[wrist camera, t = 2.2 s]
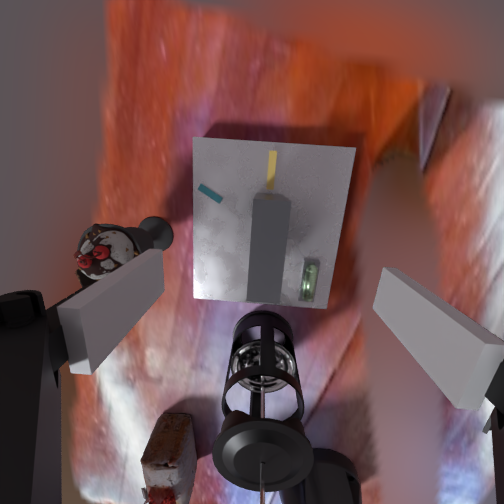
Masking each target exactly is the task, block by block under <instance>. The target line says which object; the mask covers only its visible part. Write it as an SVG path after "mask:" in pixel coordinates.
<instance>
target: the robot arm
mask: <svg viewBox="0 0 504 504" xmlns="http://www.w3.org/2000/svg"><path fill="white" fill-rule="evenodd" d="M163 292H164V273H163V254H162V250H161V249H148V250H147V251H145V252H143V253H142V254H140V255H139V256H137V257H135V258H134V259H132V260H131V261H129V262H128V263H126V264H124V265H123V266H121V267H120V268H118V269H116V270H115V271H113V272H112V273H110V274H108V275H107V276H105V277H104V278H102V279H100V280H99V281H97V282H95V283H93V284H90V285H87V286H84V287H83V288H81V289H79V290H78V291H76V292H75V294H71V295H70V296H68V297H67V298H65V299H63V300H61V301H60V302H58V303H57V304H55V305H53V306H52V307H50V308H48V309H47V310H45V306H44V301H43V297H42V294H41V292H39V291H36V290H24V291H16V292H12V293H7V294H4V295H1V296H0V504H61V503H62V502H61V501H62V498H61V495H62V494H61V374H60V370H59V368H60V367H61V366H62V365H63V364H64V363H65V362H66V361H67V360H68V361H69V366H70V371H71V373H77V374H88V375H92V374H93V372H94V371H95V370H96V369H97V368H98V367H99V366H100V364H101V363H102V362H103V361H104V360H105V359H106V358H107V356H108V355H109V354H110V353H111V352H112V351H113V349H114V348H115V347H116V346H117V345H118V344H119V343H120V341H121V340H122V339H123V338H124V337H125V336H126V335H127V333H128V332H129V331H130V330H131V329H132V328H133V326H134V325H135V324H136V323H137V322H138V321H139V320H140V318H141V317H142V316H143V315H144V314H145V313H146V312H147V310H148V309H149V308H150V307H151V306H152V305H153V303H154V302H155V301H156V300H157V299H158V298H159V297H160V295H161V294H162V293H163ZM373 309H374V310H375V312H376V313H377V314H378V315H379V316H380V318H381V319H382V320H383V321H384V322H385V324H386V325H387V326H388V327H389V328H390V329H391V331H392V332H393V333H394V334H395V336H396V337H397V338H398V339H399V340H400V342H402V344H403V345H404V346H405V348H406V349H407V350H408V351H409V352H410V354H411V355H412V356H413V357H414V358H415V359H416V361H417V362H418V363H419V364H420V366H421V367H422V368H423V369H424V370H425V372H426V373H427V374H428V375H429V376H430V377H431V379H432V380H433V381H434V382H435V384H436V385H437V386H438V387H439V388H440V390H441V391H442V392H443V393H444V394H445V396H446V397H447V398H448V399H449V400H450V402H451V403H452V404H453V405H454V406H455V408H457V409H467V410H479V408H480V406H481V404H482V402H483V400H484V398H485V397H486V398H487V399H488V400H489V401H490V402H491V403H492V404H493V405H494V406H495V407H494V409H493V411H492V413H491V415H490V417H489V419H488V421H487V423H486V425H485V427H484V429H483V431H482V432H484V433H486V434H487V433H488V431H489V430H492V442H493V457H494V472H495V486H496V499H497V500H496V501H497V504H504V341H503V340H501V339H500V338H498V337H497V336H496V335H494V334H492V333H491V332H490V331H488V330H487V329H485V328H484V327H482V326H481V325H479V324H478V323H476V322H475V321H474V320H472V319H471V318H469V317H467V316H466V315H464V314H463V313H461V312H460V311H458V310H457V309H456V308H454V307H453V306H451V305H450V304H448V303H447V302H445V301H444V300H442V299H441V298H439V297H438V296H437V295H435V294H434V293H432V292H431V291H429V290H428V289H426V288H425V287H423V286H422V285H420V284H419V283H418V282H416V281H415V280H413V279H412V278H410V277H409V276H407V275H406V274H404V273H403V272H401V271H400V270H399V269H397V268H389V267H383V270H382V273H381V277H380V281H379V285H378V289H377V293H376V297H375V301H374V304H373ZM313 455H314V462H313V467H312V469H311V471H310V473H309V474H308V475H307V477H306V478H305V479H303V480H302V481H301V482H300V483H298V484H296V485H295V486H293V487H290V488H287V489H284V490H280V491H279V495H280V498H281V501H282V504H362V495H361V485H360V481H359V478H358V474H357V471H356V468H355V466H354V465H353V463H352V462H351V461H350V460H349V459H348V458H346V457H345V456H343V455H342V454H340V453H337V452H334V451H331V450H325V449H313Z"/></svg>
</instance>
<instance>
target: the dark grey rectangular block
mask: <svg viewBox="0 0 504 504" xmlns="http://www.w3.org/2000/svg"><path fill="white" fill-rule="evenodd" d="M276 158H277V151H269V163H268V175H267V187H266V189H270V190H274V180H275V169H276ZM291 203H292V201H290V200H289V199H288V198H286V197H285V196H284V195H279V194H265V193H256V195H255V196H254V198H253V210H252V225H251V240H250V254H249V269H248V284H247V298H246V301H251V302H263V303H275V304H280V297H281V289H282V280H283V272H284V263H285V254H286V246H287V237H288V228H289V220H290V211H291Z"/></svg>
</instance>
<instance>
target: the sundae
mask: <svg viewBox="0 0 504 504" xmlns="http://www.w3.org/2000/svg"><path fill="white" fill-rule="evenodd" d="M172 240H173V233H172V230H171V227H170V226H169V225H168V223H167V222H165V221H164V220H162V219H161V218H158V217H149V218H146V219H144V220H143V221H142V222H141V223H140V225H139V227H138V228H136V227H127V228H124V227H121V226H118V225H113V224H94V225H93V226H91V227H90V228H88V229H87V230H86V231H84V233H83V235H82V237H81V239H80V241H79V244H78V250H77V252H76V253H75V254H74V258H78V259H77V263H78V266H79V269H78V270H77V271H76V275H77V277H78V280H79V282H80V283H81V285H82V287H84V286H87V285H90V284H93V283H95V282H97V281H99V280H100V279H102V278H104V277H105V276H107V275H108V274H110V273H112V272H113V271H115V270H116V269H118V268H120V267H121V266H123V265H124V264H126V263H128V262H129V261H131V260H132V259H134V258H135V257H137V256H139V255H140V254H142V253H143V252H145V251H147V250H148V249H161V250H162V251H164V250H166V249H167V248H168V247H169V246H170V245H171V243H172Z"/></svg>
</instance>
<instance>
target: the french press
mask: <svg viewBox="0 0 504 504" xmlns="http://www.w3.org/2000/svg"><path fill="white" fill-rule="evenodd" d="M255 326H261V339H257V340H253V341H250V342H248V343H246V344H244V345H243V344H242V341H241V334H242V332H243V331H245V330H247V329H249V328H252V327H255ZM274 328H276V329H278V330H280V331H281V332H283V333H284V335H285V342H284V345H283V346H282V345H281V344H279V343H277V342H275V341H274ZM232 356H233V358H232ZM230 368H231V371H232V374H233V375H232V376H231V377H230V378H229V373H230ZM228 379H229V380H228ZM237 382H238V383H239V384H240V385H241V386H242V387H244V388H246V389H248V390H250V391H251V397H250V415H248V414H246V413H244V412H242V411H239V410H235V411H231V410H230V408H229V406H228V405H227V402H226V398H225V396H226V393H227V391H228V390H229V389H230V388H231V387H232V386H233V385H234V384H236V383H237ZM287 384H290V385H291V386H292V387H293V388H294V389H295V390H296V396H297V403H298V409H297V410H296V412H295V413H294V414H293V415H292V416H291V417H289V418H288V419H286V420H284V421H280V420H275V419H270V418H265V393H270V392H274V391H277V390H280V389H282V388H283V387H285V386H286V385H287ZM222 411H223V414H224V416H225V420H224V422H223V424H222V428H221V433H220V434H219V435H218V437H217V438H216V440H215V442H214V446H213V451H212V456H213V462H214V465H215V467H216V468H217V470H218V472H219V473H220V474H221V475H222V476H223V477H224V478H225V479H227V480H228V481H229V482H231V483H233V484H235V485H237V486H239V487H241V488H244V489H247V490H252V491H259V492H260V504H265V492H275V491H280V490H284V489H287V488H290V487H293V486H295V485H296V484H298V483H300V482H301V481H302V480H303V479H305V478H306V477H307V475H308V474H309V473H310V471H311V469H312V467H313V462H314V455H313V449H312V446H311V444H310V442H309V440H308V439H307V437H306V436H305V432H304V427H303V425H302V422H301V421H300V420H301V419H302V416H303V414H304V400H303V395H302V390H301V385H300V380H299V374H298V369H297V363H296V358H295V352H294V346H293V332H292V329H291V327H290V325H289V323H288V322H287V321H286V320H285V319H284V318H283V317H281V316H280V315H278V314H276V313H273V312H269V311H255V312H252V313H249V314H247V315H245V316H244V317H242V318H241V319H240V320H239V321H238V323H237V324H236V326H235V328H234V331H233V344H232V349H231V355H230V360H229V365H228V371H227V376H226V382H225V387H224V392H223V398H222Z"/></svg>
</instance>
